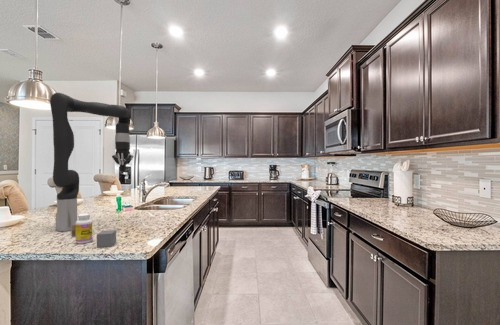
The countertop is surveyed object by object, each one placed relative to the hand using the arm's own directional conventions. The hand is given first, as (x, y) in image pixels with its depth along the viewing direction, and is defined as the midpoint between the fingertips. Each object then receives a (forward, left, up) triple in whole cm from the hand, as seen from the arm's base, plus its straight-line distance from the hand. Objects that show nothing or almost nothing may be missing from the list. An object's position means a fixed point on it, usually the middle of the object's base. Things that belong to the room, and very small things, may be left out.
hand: (122, 171), depth 144 cm
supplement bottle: (0, -26, -32) cm, 42 cm away
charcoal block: (+14, -28, -32) cm, 45 cm away
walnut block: (-11, -17, -32) cm, 38 cm away
